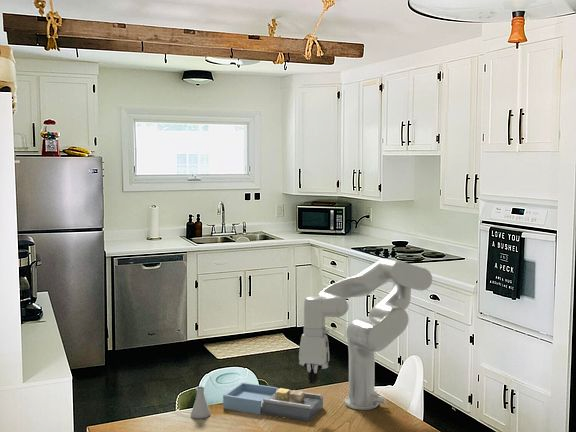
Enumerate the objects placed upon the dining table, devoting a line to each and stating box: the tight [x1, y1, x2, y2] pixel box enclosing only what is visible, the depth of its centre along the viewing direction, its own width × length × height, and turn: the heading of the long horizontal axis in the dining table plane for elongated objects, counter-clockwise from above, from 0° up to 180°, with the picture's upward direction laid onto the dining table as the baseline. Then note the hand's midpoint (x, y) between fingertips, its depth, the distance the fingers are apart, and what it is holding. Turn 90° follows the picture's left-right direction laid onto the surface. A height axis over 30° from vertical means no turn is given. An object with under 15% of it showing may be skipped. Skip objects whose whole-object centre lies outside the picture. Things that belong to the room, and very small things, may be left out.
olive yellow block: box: [275, 387, 291, 401], centre depth 222 cm, size 4×4×3 cm
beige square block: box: [289, 389, 305, 403], centre depth 220 cm, size 4×4×3 cm
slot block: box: [262, 387, 324, 423], centre depth 221 cm, size 18×14×5 cm
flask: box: [190, 386, 211, 419], centre depth 218 cm, size 7×7×10 cm
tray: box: [222, 382, 278, 415], centre depth 228 cm, size 15×15×5 cm
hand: (313, 382), depth 217 cm, fingers closed
